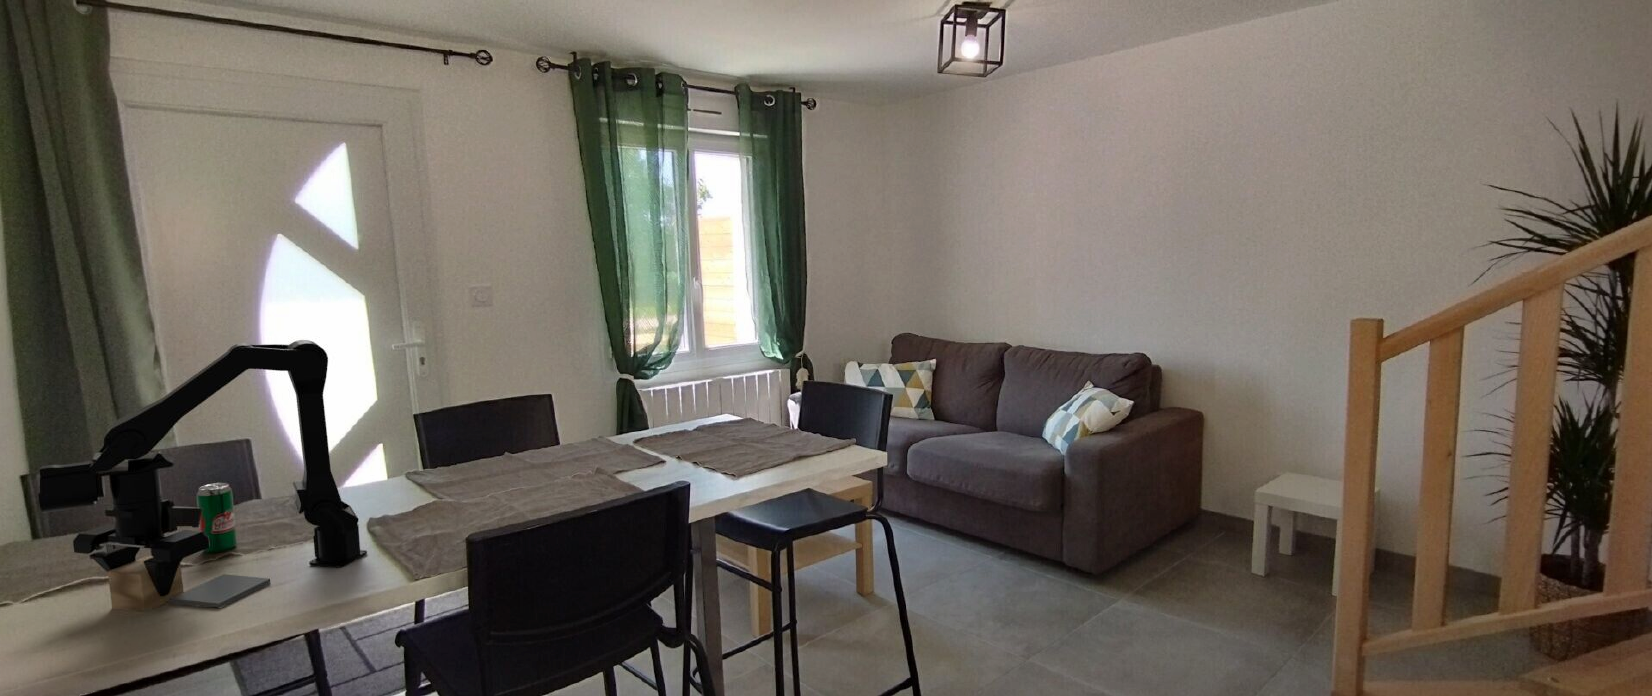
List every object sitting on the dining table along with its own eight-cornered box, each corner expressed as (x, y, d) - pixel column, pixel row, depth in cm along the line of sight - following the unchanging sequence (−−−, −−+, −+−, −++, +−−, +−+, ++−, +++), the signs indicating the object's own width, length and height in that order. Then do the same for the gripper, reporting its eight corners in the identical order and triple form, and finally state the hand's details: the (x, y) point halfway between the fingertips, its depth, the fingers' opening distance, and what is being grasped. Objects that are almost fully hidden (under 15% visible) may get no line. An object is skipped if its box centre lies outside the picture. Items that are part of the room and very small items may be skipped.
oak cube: (183, 594, 121) (179, 558, 121) (144, 611, 116) (140, 574, 115) (152, 591, 122) (148, 555, 122) (112, 608, 117) (107, 571, 116)
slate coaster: (270, 583, 126) (270, 578, 126) (219, 608, 117) (218, 603, 117) (224, 578, 127) (223, 574, 127) (170, 603, 118) (169, 598, 118)
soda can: (217, 555, 136) (211, 491, 135) (194, 552, 137) (188, 489, 136) (244, 544, 141) (238, 483, 140) (222, 542, 142) (216, 481, 141)
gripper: (237, 486, 123) (245, 576, 125) (141, 479, 126) (151, 567, 128) (168, 509, 112) (178, 607, 114) (64, 500, 115) (76, 597, 117)
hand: (147, 593), depth 119 cm, fingers closed on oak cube, 6 cm apart
